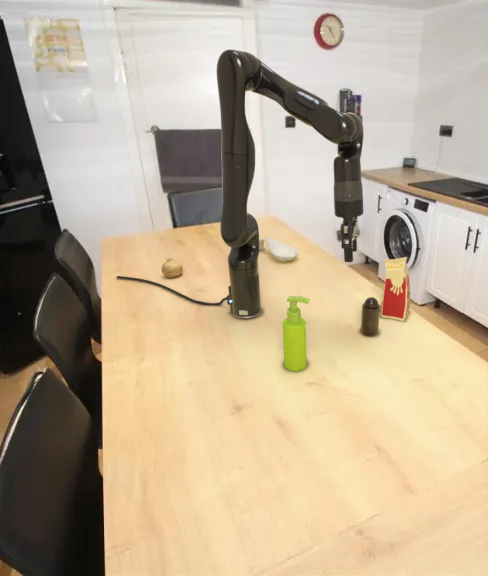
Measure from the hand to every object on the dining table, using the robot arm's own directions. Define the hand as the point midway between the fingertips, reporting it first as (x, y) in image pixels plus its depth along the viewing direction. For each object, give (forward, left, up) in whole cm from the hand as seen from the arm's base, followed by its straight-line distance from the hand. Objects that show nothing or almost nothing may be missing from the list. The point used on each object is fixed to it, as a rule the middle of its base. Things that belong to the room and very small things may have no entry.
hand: (351, 256), depth 112 cm
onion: (-80, +5, -26) cm, 84 cm away
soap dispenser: (-5, -20, -26) cm, 33 cm away
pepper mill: (+5, +5, -25) cm, 26 cm away
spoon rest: (-57, +43, -26) cm, 76 cm away
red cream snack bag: (+7, +20, -26) cm, 33 cm away
